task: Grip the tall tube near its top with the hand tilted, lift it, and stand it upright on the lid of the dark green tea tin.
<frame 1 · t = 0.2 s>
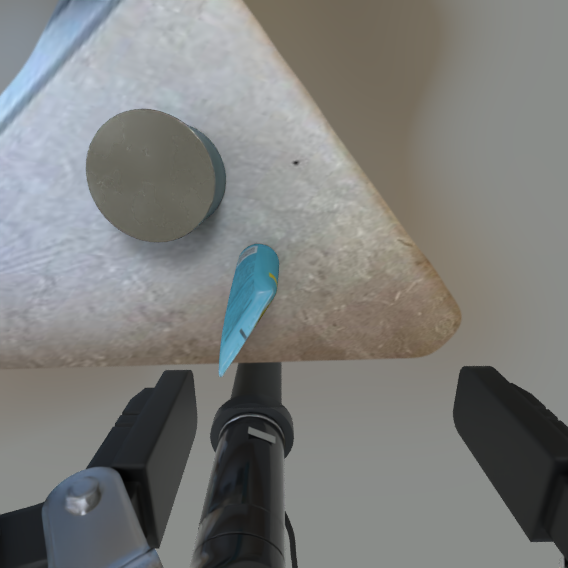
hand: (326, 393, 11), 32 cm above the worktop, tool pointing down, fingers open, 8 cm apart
tea tin: (176, 176, 39), on the worktop
tube: (260, 262, 42), on the worktop
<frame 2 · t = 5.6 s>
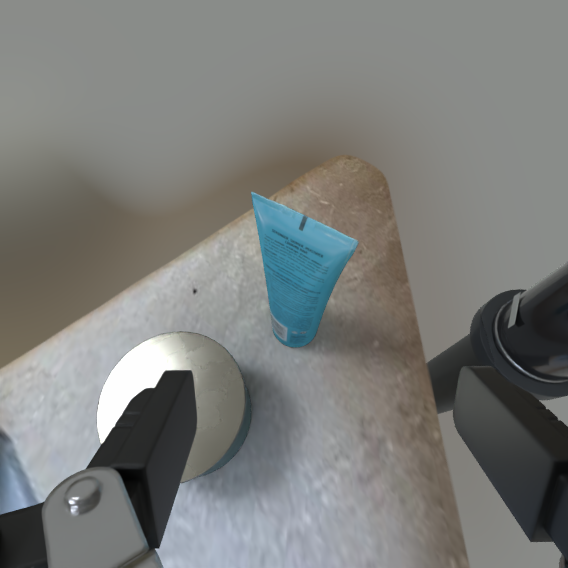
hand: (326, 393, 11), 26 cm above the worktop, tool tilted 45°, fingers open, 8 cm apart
tea tin: (195, 413, 35), on the worktop
tube: (294, 325, 39), on the worktop
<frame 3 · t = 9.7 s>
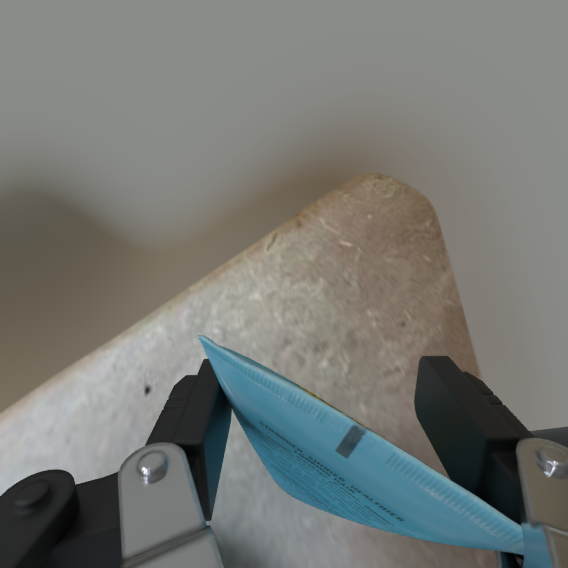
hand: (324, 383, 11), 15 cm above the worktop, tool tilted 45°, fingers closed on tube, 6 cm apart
tube: (303, 452, 24), on the worktop, touching gripper
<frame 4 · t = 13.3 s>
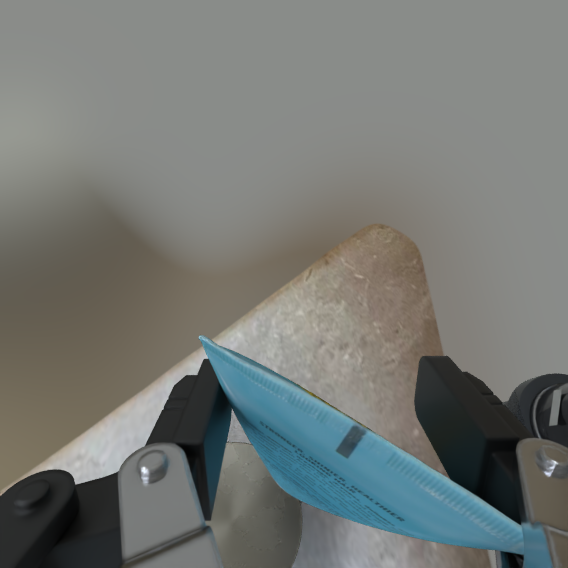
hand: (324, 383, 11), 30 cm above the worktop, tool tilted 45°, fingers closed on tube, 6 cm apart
tea tin: (241, 507, 35), on the worktop
tube: (303, 452, 24), point 15 cm above the worktop, touching gripper
when the fingers open (23 cm above the worktop, at t = 17.0 s): tube stays where it is, resting on tea tin.
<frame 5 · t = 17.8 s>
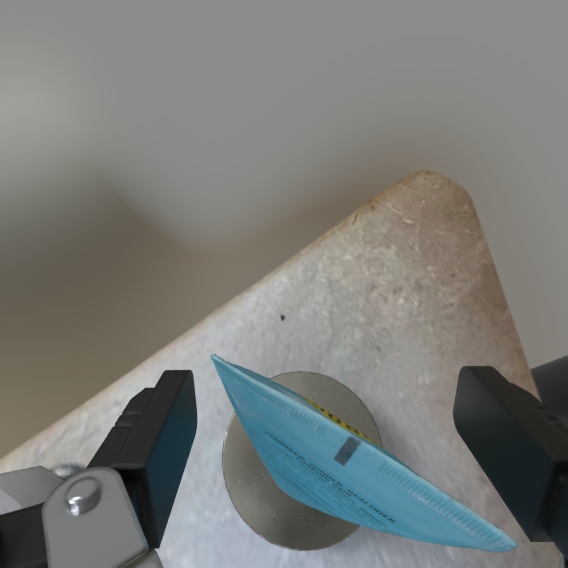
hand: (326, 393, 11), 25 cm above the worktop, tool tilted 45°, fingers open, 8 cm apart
tea tin: (298, 454, 32), on the worktop
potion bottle: (41, 522, 30), on the worktop
tube: (303, 455, 25), point 8 cm above the worktop, touching tea tin
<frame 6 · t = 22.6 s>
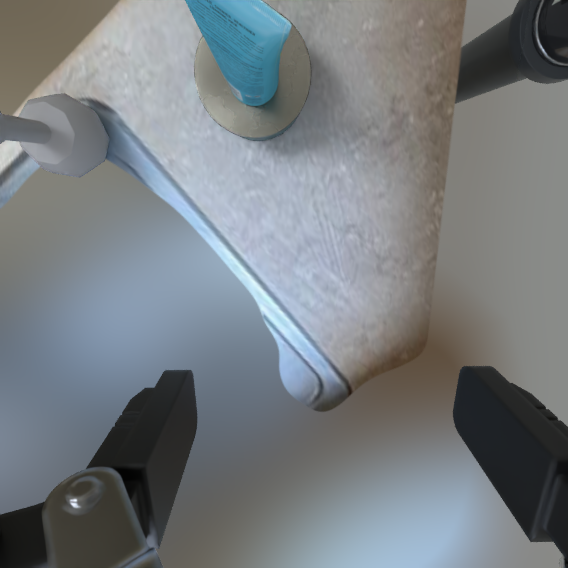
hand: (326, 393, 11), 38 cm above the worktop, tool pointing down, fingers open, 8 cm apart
tea tin: (258, 91, 42), on the worktop
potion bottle: (81, 138, 44), on the worktop
tube: (253, 77, 35), point 8 cm above the worktop, touching tea tin
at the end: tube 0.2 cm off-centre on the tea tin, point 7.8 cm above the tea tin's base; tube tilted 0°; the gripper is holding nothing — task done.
